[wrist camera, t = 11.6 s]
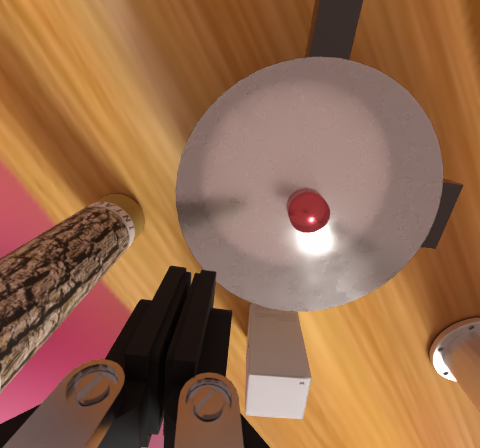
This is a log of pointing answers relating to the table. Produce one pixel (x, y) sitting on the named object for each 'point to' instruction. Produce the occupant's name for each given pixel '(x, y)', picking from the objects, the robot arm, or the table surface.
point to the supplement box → (275, 364)
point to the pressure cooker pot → (339, 46)
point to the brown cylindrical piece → (59, 275)
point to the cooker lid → (309, 183)
